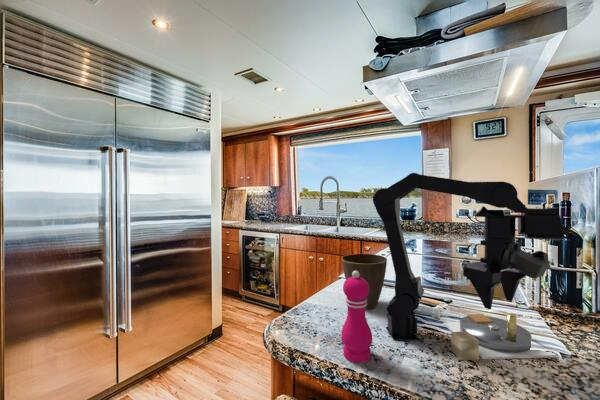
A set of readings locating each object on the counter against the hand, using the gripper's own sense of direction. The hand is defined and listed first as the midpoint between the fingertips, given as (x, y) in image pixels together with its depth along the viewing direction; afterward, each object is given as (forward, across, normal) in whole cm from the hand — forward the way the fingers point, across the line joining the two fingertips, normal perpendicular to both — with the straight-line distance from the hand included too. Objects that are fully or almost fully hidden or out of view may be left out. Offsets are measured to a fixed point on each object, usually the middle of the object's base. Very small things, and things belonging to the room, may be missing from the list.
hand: (498, 304), depth 64 cm
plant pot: (+12, -7, +38) cm, 41 cm away
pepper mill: (+12, -28, +16) cm, 35 cm away
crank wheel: (+12, +7, +5) cm, 15 cm away
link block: (+12, -6, +4) cm, 14 cm away
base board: (+12, +7, +5) cm, 15 cm away
